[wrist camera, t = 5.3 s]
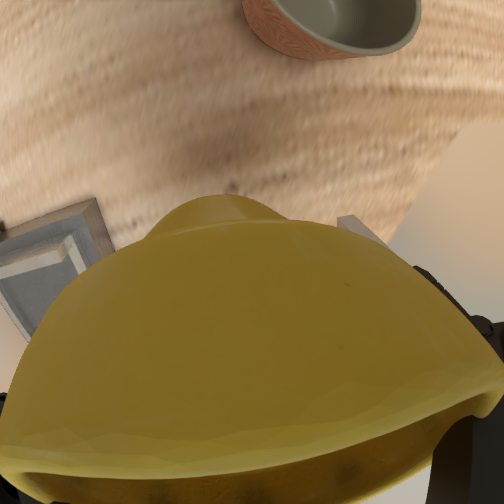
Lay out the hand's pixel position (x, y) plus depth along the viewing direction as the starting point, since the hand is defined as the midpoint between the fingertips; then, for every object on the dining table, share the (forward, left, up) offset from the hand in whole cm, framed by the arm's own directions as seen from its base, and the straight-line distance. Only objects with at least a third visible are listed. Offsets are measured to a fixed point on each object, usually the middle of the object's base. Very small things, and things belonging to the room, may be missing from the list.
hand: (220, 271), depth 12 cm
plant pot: (0, 0, -1) cm, 1 cm away
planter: (-15, +11, -18) cm, 26 cm away
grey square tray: (+9, -21, -18) cm, 29 cm away
